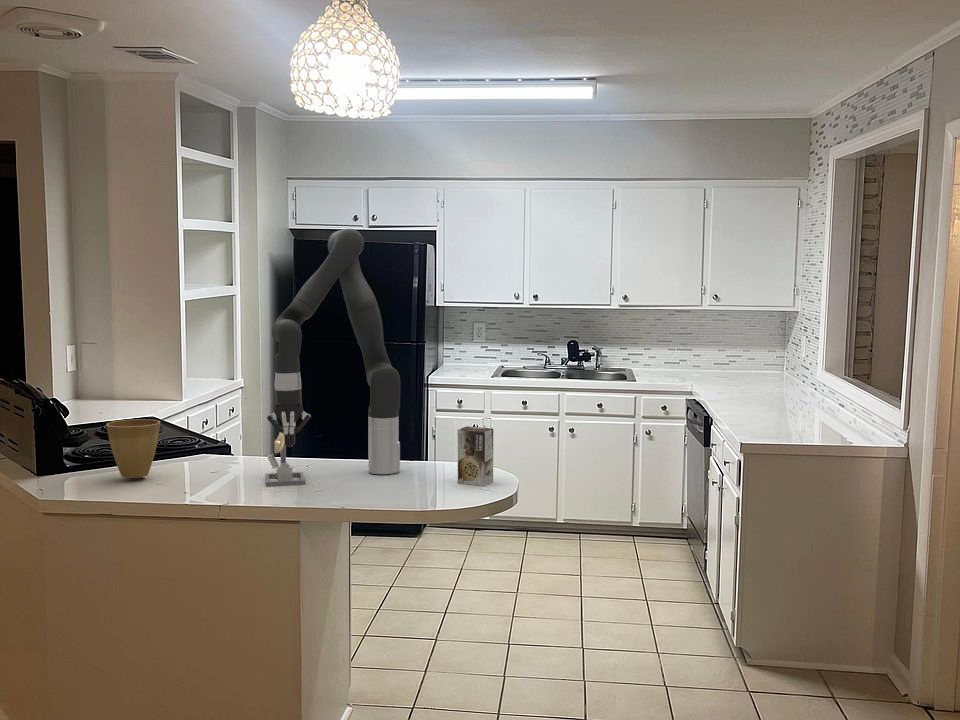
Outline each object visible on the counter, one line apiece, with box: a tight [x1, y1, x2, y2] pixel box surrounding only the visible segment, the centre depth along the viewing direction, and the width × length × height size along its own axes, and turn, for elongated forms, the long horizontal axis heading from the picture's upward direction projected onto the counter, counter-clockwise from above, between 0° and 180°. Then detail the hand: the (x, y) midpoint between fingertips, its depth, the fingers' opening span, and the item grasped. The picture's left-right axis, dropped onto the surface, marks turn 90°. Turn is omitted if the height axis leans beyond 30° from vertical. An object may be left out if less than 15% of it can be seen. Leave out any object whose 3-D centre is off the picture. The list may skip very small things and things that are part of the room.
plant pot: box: [105, 418, 161, 479], centre depth 260 cm, size 15×15×16 cm
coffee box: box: [457, 426, 494, 487], centre depth 255 cm, size 9×6×16 cm
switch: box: [264, 444, 306, 487], centre depth 258 cm, size 11×18×9 cm, turn 15°
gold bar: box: [274, 432, 285, 454], centre depth 257 cm, size 2×17×4 cm, turn 7°
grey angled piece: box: [266, 453, 294, 481], centre depth 255 cm, size 7×2×8 cm, turn 85°
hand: (290, 446), depth 255 cm, fingers closed
